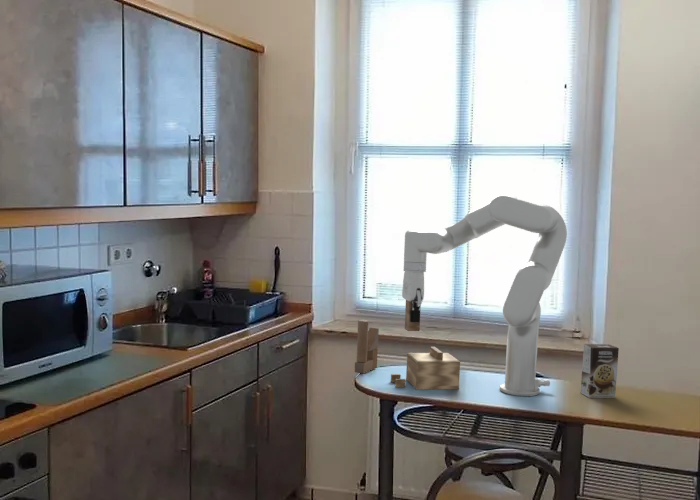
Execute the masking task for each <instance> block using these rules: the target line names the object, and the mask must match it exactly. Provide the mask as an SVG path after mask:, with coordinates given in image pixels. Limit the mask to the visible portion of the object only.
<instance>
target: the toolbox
mask: <svg viewBox="0 0 700 500" xmlns="http://www.w3.org/2000/svg"><path fill="white" fill-rule="evenodd" d="M408 353H409V352H407V354H406V371H405V372H406V373H405V374H406V376H405V378H402V377H401V376H402V375H401V373H391V374H390V382H391V383H394V384H395V385H394V387H395V388H406V381H408V383H410V385H412V387H413V388H415V390H459V389H460V373H461V372H460V371H461V361H460V360H459V361H420V362H417V363H416V362H415V361H414V360H413V359H412V358H410V357H409V356H408Z"/></svg>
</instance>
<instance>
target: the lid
mask: <svg viewBox="0 0 700 500" xmlns="http://www.w3.org/2000/svg"><path fill="white" fill-rule="evenodd" d="M407 353H408V356H409V357H410V358H412V359H413V360H414V361H415V362H416V363H417V362H420V361H460V360H459V359H457V358H456V357H454V356H453V355H452V354H450V353H449V352H443V351H442V350H440V349H439V348H437V347H436V346H430V347H429V352H407Z"/></svg>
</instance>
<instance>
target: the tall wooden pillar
mask: <svg viewBox="0 0 700 500" xmlns="http://www.w3.org/2000/svg"><path fill="white" fill-rule="evenodd" d="M414 301H417V299H414ZM411 302H412V301H408V300H406V299H405V309H404V311H405V315H404V330H406V331H407V332H420V330H421V328H420V327H421V321H420V322H410V311H411V310H412V304H411ZM414 304H415V303H414ZM421 306H422V305H421ZM421 306H420V310H421Z"/></svg>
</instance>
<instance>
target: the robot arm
mask: <svg viewBox="0 0 700 500" xmlns="http://www.w3.org/2000/svg"><path fill="white" fill-rule="evenodd" d="M504 225H507V226H510V227H513V228H518V229H520V230H524V231H526V232H531V233H534V234H538V238H537V241H536V243H535V245H534V247H533V250H532V253H531V254H530V257H529V260H528V262H527V263H526V264H525V265H524V266H522V267H520V268H519V270H518V272H517V273H516V275H515V277H514V279H513V282H512V284H511V287H510V289H509V291H508V293H507V297H506V298H505V301H504V303H503V304H504V305H503V308H502V315H503V319H504V320H505V321H506V322H507V324H508V327H507V337H506V338H507V340H506V353H505V354H506V355H505V356H506V357H505V372H504V374H505V375H504V383H502V384H500V385H499V390H500V391H501V393H504V394H508V395H512V396H520V397H535V396H538V395H539V394H540V392H541V389H540V388H541V387H542V386H543V387H550V385H551V382H550V379H542V378H537V377H536V375H537V361H538V360H537V358H538V345H539V344H538V343H539V330H540V321H541V314H542V313H541V312H542V309H541V304H540V302H541V299H542V297H543V294H544V292H545V291H546V290H547V289H548V288H549V287H550V285H551V282H552V280H553V278H554V277H553V276H554V275H555V271H556V269H557V267H558V265H559V262H560V259H561V257H562V254H563V251H564V248H565V246H566V242H567V235H568V233H567V230H568V229H567V225H566V222H565V220H564V218H563V217H562V215H561V214H560V212H559V211H558V210H556V209H555V208H554V207H552V206H550V205H547V204H541V205H540V204H536V203H532V202H529V201H525V200H522V199H519V198H517V196H515V195H513V194H503V193H502V194H499V195H495V196H494V197H493V198H492V199H491V200H490V201H489V202H488V203H485V204H483V205H481V206H479V207H477V208H476V209H473V210H471V211H469V212H468V213H467V214H466V215H465V216H464V218H462V219H461V220H459V221H457V222H455V223H454V224H452V225H450V226H448V227H445V228H443V229H441V230H433V231H425V230H421V229H420V230H419V229H418V230H417V229H409V230H406V231H405V234H404V248H403V249H404V253H403V272H404V273H403V279H402V280H403V281H402V290H401V297H402V298H403V300H405V301H406V300H408V301H412V302H411V304H412V310H411V311H410V322H420V323H421V309H420V306H422V304H423V303H422V302H423V301H424V297H425V273H426V272H427V255H428V254H432V255H437V254H442V253H447V252H449V251H451V250H452V251H453V250H454V249H456V248H458V247H461V246H462V245H464V244H466V243H468V242H470V241H472V240H474V239H478V238H479V237H481V236H483V235H486V234H488V233H489V232H491V231H493V230H496V229H498V228H500V227H502V226H504ZM414 299H417V301H414ZM414 303H415V304H414Z"/></svg>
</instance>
